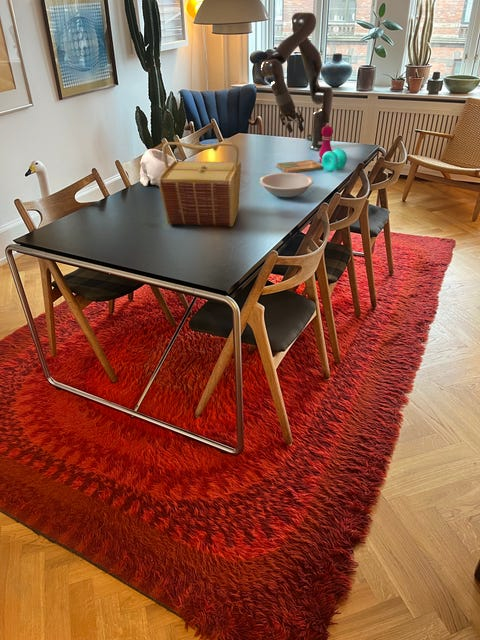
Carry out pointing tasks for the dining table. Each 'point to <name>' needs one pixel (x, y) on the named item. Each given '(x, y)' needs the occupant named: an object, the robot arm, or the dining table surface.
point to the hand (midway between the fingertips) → (296, 131)
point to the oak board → (299, 166)
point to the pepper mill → (326, 141)
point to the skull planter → (153, 166)
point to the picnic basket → (200, 189)
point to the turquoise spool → (334, 160)
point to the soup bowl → (286, 184)
